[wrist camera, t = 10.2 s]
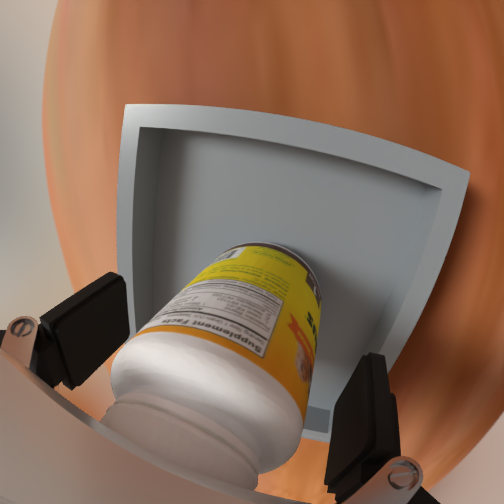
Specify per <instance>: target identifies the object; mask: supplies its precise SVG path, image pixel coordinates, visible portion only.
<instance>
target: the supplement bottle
mask: <svg viewBox="0 0 504 504" xmlns="http://www.w3.org/2000/svg"><path fill="white" fill-rule="evenodd" d="M320 314H321V292H320V287H319V284H318V281H317V279H316V277H315V275H314V273H313V271H312V270H311V268H310V267H309V266H308V264H307V263H306V262H305V261H304V260H303V259H302V258H300V257H299V256H298V255H297V254H295V253H294V252H292V251H291V250H289V249H287V248H285V247H282V246H280V245H277V244H273V243H269V242H246V243H242V244H239V245H236V246H234V247H232V248H230V249H228V250H226V251H225V252H223V253H222V254H221V255H220V256H219V257H217V258H216V259H215V260H214V261H213V262H212V263H211V264H209V265H208V266H207V267H206V268H205V269H204V270H203V271H202V272H201V273H200V274H199V275H198V276H197V277H196V278H194V279H193V280H192V281H191V282H190V283H189V284H188V285H187V286H186V287H185V288H184V289H183V290H182V291H181V292H180V293H178V294H177V295H176V296H175V297H174V298H173V299H172V300H171V301H170V302H169V303H168V304H167V305H166V306H165V307H164V308H163V309H162V310H160V311H159V312H158V313H157V314H156V315H155V316H154V317H153V318H152V319H151V320H150V321H149V322H148V323H147V324H146V325H145V326H144V327H143V328H142V329H141V330H140V331H139V332H138V333H137V334H136V335H135V336H134V337H132V338H131V339H130V340H129V341H128V342H127V343H126V344H125V346H124V347H123V348H122V349H121V350H120V351H119V352H118V354H117V356H116V357H115V359H114V361H113V364H112V368H111V386H112V390H113V394H114V397H115V399H116V401H115V403H114V404H113V405H111V406H110V407H109V408H108V409H107V411H106V414H105V415H104V417H103V418H102V419H101V421H100V423H102V424H103V425H105V426H106V427H108V428H110V429H111V430H113V431H115V432H116V433H118V434H120V435H121V436H123V437H125V438H127V439H128V440H130V441H132V442H134V443H136V444H138V445H139V446H141V447H143V448H145V449H147V450H149V451H151V452H153V453H155V454H157V455H159V456H161V457H163V458H166V459H168V460H170V461H172V462H174V463H177V464H179V465H181V466H184V467H186V468H188V469H191V470H193V471H196V472H198V473H201V474H204V475H206V476H209V477H212V478H214V479H217V480H220V481H223V482H226V483H229V484H232V485H236V486H239V487H242V488H246V489H249V490H254V489H255V488H256V487H257V485H258V475H259V474H263V473H266V472H269V471H272V470H274V469H276V468H278V467H280V466H281V465H283V464H284V463H286V462H287V461H288V460H289V459H290V458H291V457H292V456H293V454H294V453H295V452H296V450H297V448H298V445H299V443H300V439H301V435H302V432H303V427H304V422H305V417H306V411H307V406H308V400H309V394H310V388H311V382H312V375H313V369H314V361H315V355H316V348H317V339H318V331H319V323H320Z"/></svg>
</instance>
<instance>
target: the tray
mask: <svg viewBox="0 0 504 504" xmlns="http://www.w3.org/2000/svg"><path fill="white" fill-rule="evenodd" d="M469 176H470V172H468V171H466V170H464V169H462V168H459V167H457V166H455V165H453V164H450V163H448V162H445V161H443V160H440V159H438V158H435V157H433V156H430V155H428V154H425V153H422V152H420V151H417V150H414V149H411V148H408V147H405V146H402V145H399V144H396V143H393V142H390V141H387V140H384V139H381V138H377V137H374V136H370V135H367V134H363V133H360V132H356V131H352V130H348V129H345V128H341V127H336V126H332V125H328V124H323V123H319V122H314V121H309V120H304V119H299V118H294V117H288V116H283V115H277V114H270V113H264V112H257V111H249V110H241V109H232V108H222V107H210V106H196V105H173V104H126V106H125V113H124V120H123V128H122V136H121V146H120V157H119V170H118V187H117V266H118V275H121V276H122V277H123V278H124V281H125V282H126V288H127V303H128V315H129V325H130V336H129V338H128V339H127V340H126V341H125V344H126V343H127V342H128V341H129V340H130V339H131V338H132V337H134V336H135V335H136V334H137V333H138V332H139V331H140V330H141V329H142V328H143V327H144V326H145V325H146V324H147V323H148V322H149V321H150V320H151V319H152V318H153V317H154V316H155V315H156V314H157V313H158V312H159V311H160V310H162V309H163V308H164V307H165V306H166V305H167V304H168V303H169V302H170V301H171V300H172V299H173V298H174V297H175V296H176V295H177V294H178V293H180V292H181V291H182V290H183V289H184V288H185V287H186V286H187V285H188V284H189V283H190V282H191V281H192V280H193V279H194V278H196V277H197V276H198V275H199V274H200V273H201V272H202V271H203V270H204V269H205V268H206V267H207V266H208V265H209V264H211V263H212V262H213V261H214V260H215V259H216V258H217V257H219V256H220V255H221V254H222V253H223V252H225V251H226V250H228V249H230V248H232V247H234V246H236V245H239V244H242V243H246V242H269V243H273V244H277V245H280V246H282V247H285V248H287V249H289V250H291V251H292V252H294V253H295V254H297V255H298V256H299V257H300V258H302V259H303V260H304V261H305V262H306V263H307V264H308V266H309V267H310V268H311V270H312V271H313V273H314V275H315V277H316V279H317V281H318V284H319V287H320V292H321V314H320V323H319V331H318V339H317V348H316V355H315V361H314V369H313V375H312V382H311V388H310V394H309V400H308V406H307V411H306V417H305V422H304V427H303V432H302V435H301V437H303V438H307V439H312V440H317V441H322V442H328V443H330V439H331V430H332V421H333V411H334V406H335V403H336V401H337V400H338V398H339V396H340V395H341V393H342V391H343V389H344V388H345V386H346V384H347V383H348V381H349V379H350V377H351V375H352V374H353V372H354V370H355V368H356V366H357V364H358V363H359V361H360V359H361V357H362V356H363V355H366V356H367V354H368V353H369V352H372V353H377V354H381V355H384V356H385V359H386V366H387V373H389V371H390V369H391V368H392V366H393V365H394V363H395V361H396V360H397V358H398V356H399V354H400V353H401V351H402V349H403V347H404V346H405V344H406V342H407V340H408V338H409V336H410V335H411V333H412V331H413V329H414V327H415V325H416V323H417V321H418V319H419V317H420V315H421V313H422V311H423V309H424V307H425V305H426V302H427V300H428V298H429V296H430V294H431V291H432V289H433V287H434V284H435V282H436V280H437V277H438V275H439V272H440V270H441V267H442V265H443V262H444V260H445V257H446V254H447V251H448V249H449V246H450V243H451V240H452V237H453V234H454V231H455V228H456V225H457V222H458V218H459V215H460V212H461V208H462V204H463V201H464V197H465V193H466V189H467V185H468V181H469Z"/></svg>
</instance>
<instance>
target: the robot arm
mask: <svg viewBox="0 0 504 504" xmlns="http://www.w3.org/2000/svg"><path fill="white" fill-rule="evenodd" d="M40 321H41V324H39V325H38V323H37V321H36V320H35V319H34V318H32V317H29V316H21V317H18V318H16V319H14V320H13V321H12V322H11V323H9V325H8V327H7V330H0V504H310V503H305V502H300V501H295V500H290V499H285V498H280V497H276V496H272V495H268V494H264V493H260V492H257V491H253V490H249V489H246V488H242V487H239V486H236V485H232V484H229V483H226V482H223V481H220V480H217V479H214V478H212V477H209V476H206V475H204V474H201V473H198V472H196V471H193V470H191V469H188V468H186V467H184V466H181V465H179V464H177V463H174V462H172V461H170V460H168V459H166V458H163V457H161V456H159V455H157V454H155V453H153V452H151V451H149V450H147V449H145V448H143V447H141V446H139V445H138V444H136V443H134V442H132V441H130V440H128V439H127V438H125V437H123V436H121V435H120V434H118V433H116V432H115V431H113V430H111V429H110V428H108V427H106V426H105V425H103V424H102V423H100V422H98V421H97V420H95V419H94V418H92V417H91V416H89V415H88V414H86V413H85V412H84V411H82V410H81V409H79V408H78V407H76V406H75V405H74V404H72V403H71V402H70V401H68V400H67V399H66V398H64V397H63V396H62V395H60V394H59V393H58V392H59V383H60V382H61V381H62V383H63V384H64V385H65V386H66V387H68V388H69V389H70V390H73V389H74V388H75V387H76V386H80V385H81V384H83V383H84V382H85V380H87V379H88V378H89V377H90V376H91V375H92V374H93V373H94V372H95V370H97V369H98V367H100V366H101V365H102V364H103V363H104V362H105V361H106V360H107V359H108V358H109V357H110V356H111V355H112V354H113V353H114V352H115V351H116V350H117V349H118V348H119V347H120V346H121V345H122V344H123V343H124V342H125V341H126V340H127V339H128V338H129V336H130V325H129V315H128V303H127V288H126V282H125V281H124V278H123V277H122V276H121V275H118V274H116V273H113V272H108V273H107V274H105V275H103V276H102V277H100V278H99V279H97V280H95V281H94V282H92V283H91V284H89V285H88V286H86V287H84V288H83V289H81V290H80V291H78V292H77V293H75V294H74V295H72V296H71V297H69V298H67V299H66V300H64V301H63V302H62V303H60V304H58V305H57V306H55V307H54V308H53V309H51V310H50V311H48V312H47V313H45V314H44V315H42V316H41V317H40ZM422 481H423V471H422V469H421V467H420V465H419V464H418V463H417V462H416V461H415V460H413V459H412V458H410V457H406V456H401V449H400V435H399V423H398V413H397V405H396V398H395V395H394V394H393V393H390V388H389V380H388V373H387V366H386V359H385V356H384V355H381V354H377V353H372V352H369V353H368V354H367V356H366V355H363V356H362V357H361V359H360V361H359V363H358V364H357V366H356V368H355V370H354V372H353V374H352V375H351V377H350V379H349V381H348V383H347V384H346V386H345V388H344V389H343V391H342V393H341V395H340V396H339V398H338V400H337V401H336V403H335V406H334V411H333V421H332V430H331V439H330V446H329V454H328V461H327V467H326V474H325V480H324V484H325V485H328V490H327V493H334V494H336V496H335V500H336V503H335V504H440V503H439V502H438V501H437V500H436V499H434V497H432V496H431V495H430V494H429V493H428V492H427V491H426V490H425V489H424V488H423V487H421V484H422Z"/></svg>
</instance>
